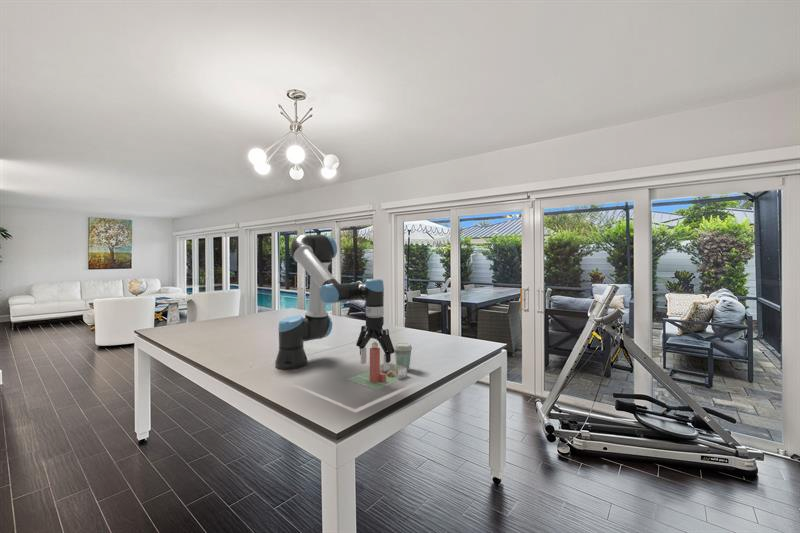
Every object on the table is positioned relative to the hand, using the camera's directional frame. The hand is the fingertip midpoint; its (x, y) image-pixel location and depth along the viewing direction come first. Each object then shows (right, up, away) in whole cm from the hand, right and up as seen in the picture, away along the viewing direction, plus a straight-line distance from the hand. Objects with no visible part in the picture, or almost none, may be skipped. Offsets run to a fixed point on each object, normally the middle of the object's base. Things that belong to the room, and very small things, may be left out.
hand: (374, 366), depth 146 cm
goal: (+7, -7, +9) cm, 13 cm away
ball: (+7, -6, +7) cm, 11 cm away
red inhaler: (0, -6, 0) cm, 6 cm away
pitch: (-1, -7, +2) cm, 8 cm away
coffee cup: (+12, -7, +19) cm, 23 cm away
